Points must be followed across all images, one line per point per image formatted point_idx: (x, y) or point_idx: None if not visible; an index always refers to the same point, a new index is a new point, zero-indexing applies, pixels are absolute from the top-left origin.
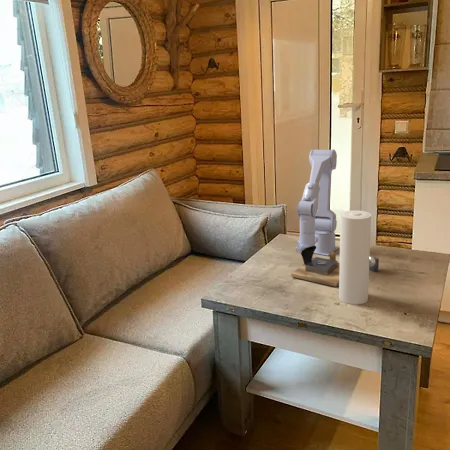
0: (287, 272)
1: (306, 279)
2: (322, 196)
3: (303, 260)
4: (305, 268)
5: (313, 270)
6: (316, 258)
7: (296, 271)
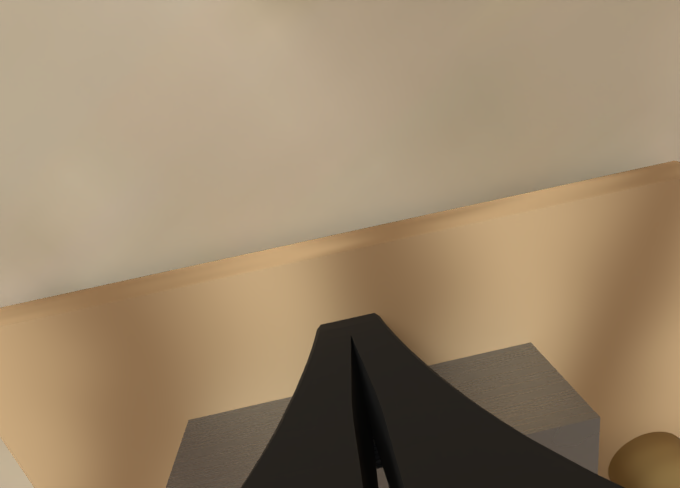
0: (68, 129)
1: None
2: None
3: (306, 366)
4: (177, 458)
5: None
6: None
7: (68, 346)
